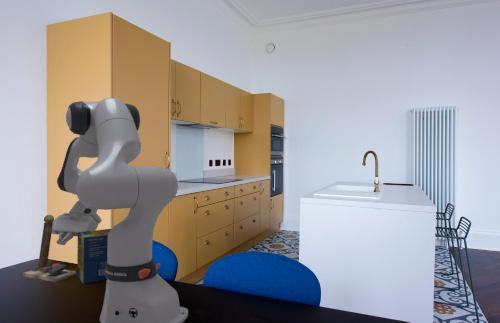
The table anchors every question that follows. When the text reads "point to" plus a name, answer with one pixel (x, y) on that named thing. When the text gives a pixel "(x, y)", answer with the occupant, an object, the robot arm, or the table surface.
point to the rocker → (57, 269)
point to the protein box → (92, 255)
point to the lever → (45, 242)
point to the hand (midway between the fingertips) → (60, 243)
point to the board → (46, 276)
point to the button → (55, 265)
